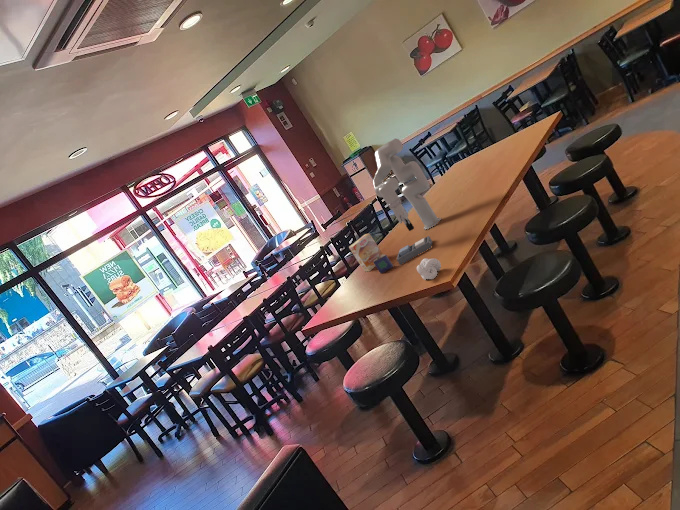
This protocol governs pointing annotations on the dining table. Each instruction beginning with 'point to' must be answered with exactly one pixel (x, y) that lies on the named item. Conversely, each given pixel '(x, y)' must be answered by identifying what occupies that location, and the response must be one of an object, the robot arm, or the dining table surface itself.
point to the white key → (420, 243)
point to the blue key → (405, 250)
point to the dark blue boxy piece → (383, 263)
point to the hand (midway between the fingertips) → (411, 229)
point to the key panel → (414, 251)
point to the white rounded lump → (428, 268)
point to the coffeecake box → (366, 251)
